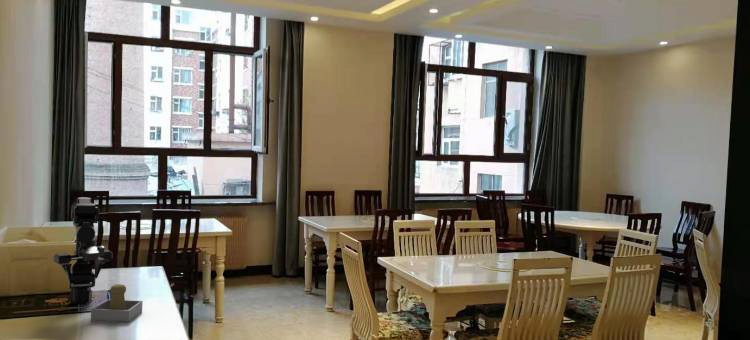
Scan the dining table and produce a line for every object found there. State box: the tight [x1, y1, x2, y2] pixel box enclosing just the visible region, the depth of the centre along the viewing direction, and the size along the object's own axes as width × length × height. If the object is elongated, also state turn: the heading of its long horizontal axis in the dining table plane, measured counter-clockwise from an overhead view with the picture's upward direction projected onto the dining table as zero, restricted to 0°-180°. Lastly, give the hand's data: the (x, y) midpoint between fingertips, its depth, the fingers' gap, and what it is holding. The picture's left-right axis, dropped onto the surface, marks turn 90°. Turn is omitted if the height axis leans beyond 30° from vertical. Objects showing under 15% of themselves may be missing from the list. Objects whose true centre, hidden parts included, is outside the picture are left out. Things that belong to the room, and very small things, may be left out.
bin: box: [90, 299, 143, 324], centre depth 200 cm, size 13×13×4 cm
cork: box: [109, 283, 127, 310], centre depth 199 cm, size 6×6×11 cm
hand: (83, 279), depth 202 cm, fingers open, 9 cm apart
